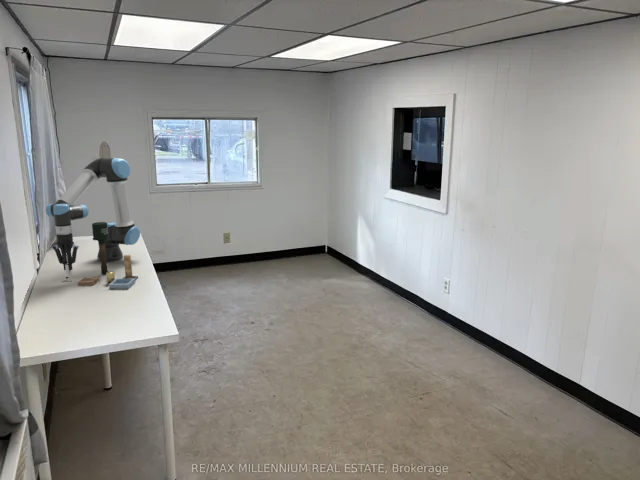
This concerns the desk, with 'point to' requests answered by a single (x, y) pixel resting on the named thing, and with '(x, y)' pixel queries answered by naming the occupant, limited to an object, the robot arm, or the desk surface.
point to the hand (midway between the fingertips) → (69, 275)
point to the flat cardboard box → (88, 281)
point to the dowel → (128, 266)
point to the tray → (121, 283)
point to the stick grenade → (101, 242)
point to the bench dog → (110, 277)
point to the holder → (133, 277)
